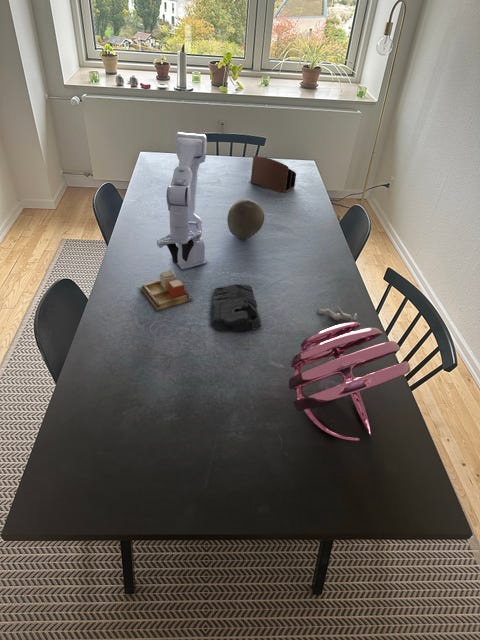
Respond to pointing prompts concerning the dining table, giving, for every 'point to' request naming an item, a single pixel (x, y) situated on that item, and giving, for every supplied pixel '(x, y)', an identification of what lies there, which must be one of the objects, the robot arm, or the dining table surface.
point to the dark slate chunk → (234, 308)
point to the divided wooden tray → (162, 295)
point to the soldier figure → (337, 314)
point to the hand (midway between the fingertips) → (180, 261)
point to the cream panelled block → (167, 278)
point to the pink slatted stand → (341, 369)
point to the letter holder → (272, 175)
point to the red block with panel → (175, 288)
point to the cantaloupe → (245, 218)
